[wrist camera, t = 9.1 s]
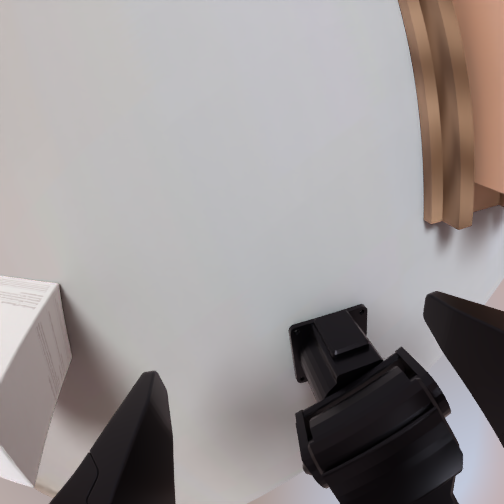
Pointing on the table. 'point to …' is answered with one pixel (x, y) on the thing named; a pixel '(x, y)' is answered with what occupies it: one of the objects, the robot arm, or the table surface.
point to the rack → (444, 114)
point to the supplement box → (29, 372)
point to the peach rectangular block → (485, 84)
